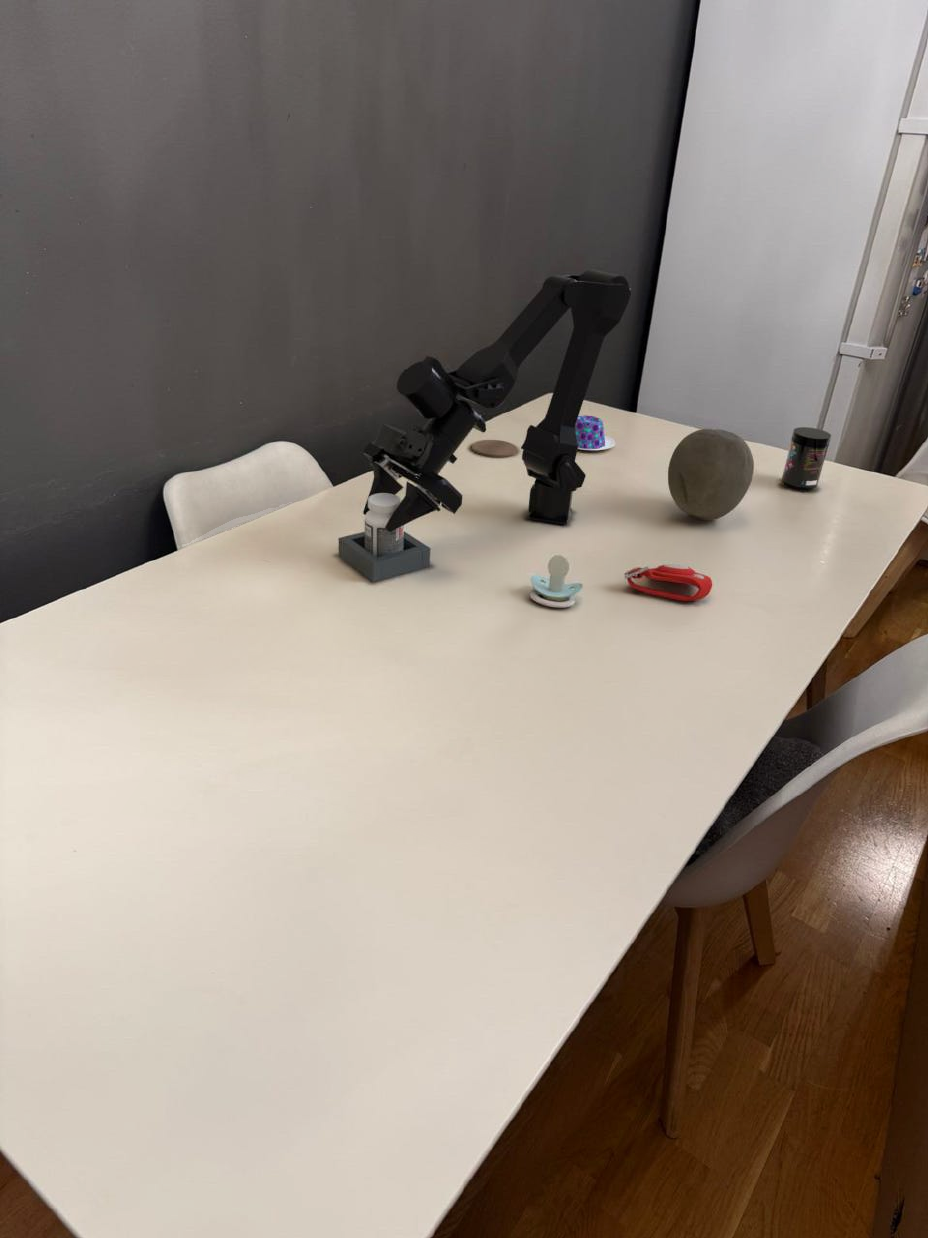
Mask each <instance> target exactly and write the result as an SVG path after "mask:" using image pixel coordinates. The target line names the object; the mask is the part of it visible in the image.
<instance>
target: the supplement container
mask: <svg viewBox="0 0 928 1238" xmlns="http://www.w3.org/2000/svg"><path fill="white" fill-rule="evenodd" d="M790 439H791V440H790V444H789V448H788V451H787V455H786V459H785V463H784V468H783V472H782V475H781V483H782V485H783V486H784V487H786V488H788V489H790V490H793V491H798V492H811V491H814V490H815V489H816V488H817V487H818V486H819V481H820V477H821V474H822V470H823V467H824V463H825V461H826V460H825V459H826V456H827V454H828V453H827V452H828V449H829V446H830V442H831V439H832V434H831V433H830V432H828V431H826V430H823V429H820V428H815V427H807V426H801V427H800V426H799V427H795V428H793V431H792V434H791V438H790Z"/></svg>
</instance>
